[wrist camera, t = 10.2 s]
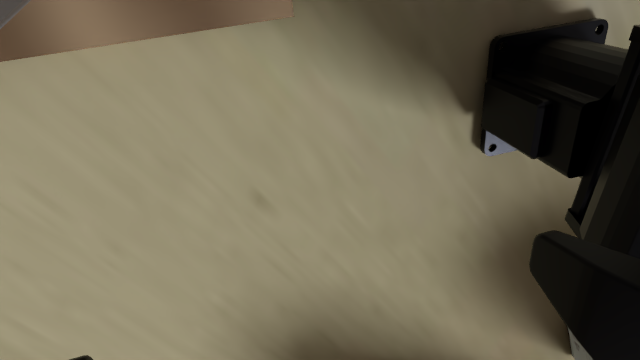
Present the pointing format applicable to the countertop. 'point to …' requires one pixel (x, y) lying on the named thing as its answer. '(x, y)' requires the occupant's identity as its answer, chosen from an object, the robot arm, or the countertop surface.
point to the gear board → (118, 21)
